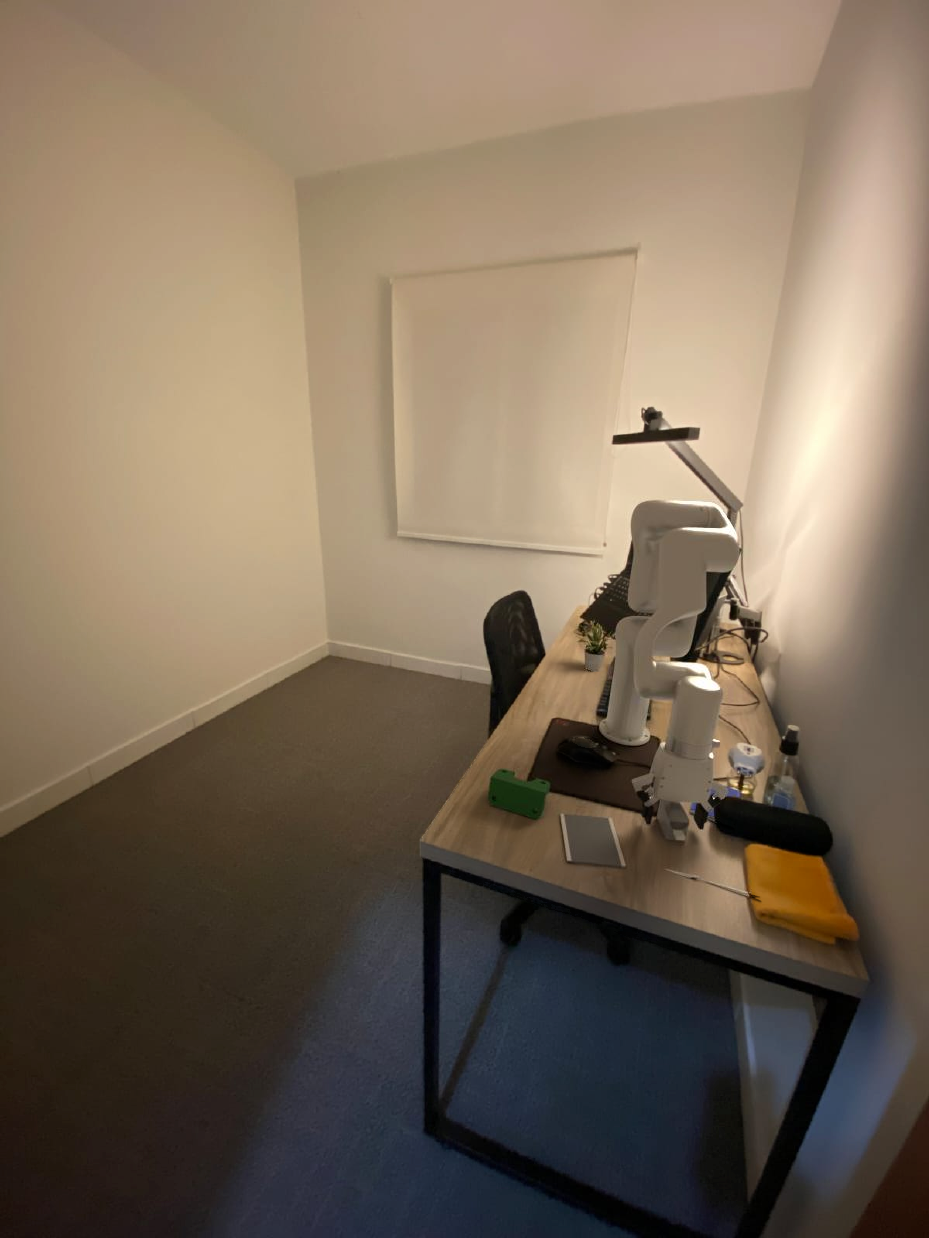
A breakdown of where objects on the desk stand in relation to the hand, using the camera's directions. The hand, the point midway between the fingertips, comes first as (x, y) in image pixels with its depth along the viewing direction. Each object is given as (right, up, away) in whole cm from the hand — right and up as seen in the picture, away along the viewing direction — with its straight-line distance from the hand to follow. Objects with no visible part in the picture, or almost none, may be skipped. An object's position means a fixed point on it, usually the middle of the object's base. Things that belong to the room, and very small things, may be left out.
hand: (672, 821), depth 94 cm
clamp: (-29, +1, +6) cm, 29 cm away
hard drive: (+13, 0, +9) cm, 15 cm away
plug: (0, -2, +1) cm, 2 cm away
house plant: (+3, +22, +75) cm, 78 cm away
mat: (-16, -2, -3) cm, 17 cm away
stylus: (0, -6, -11) cm, 12 cm away
